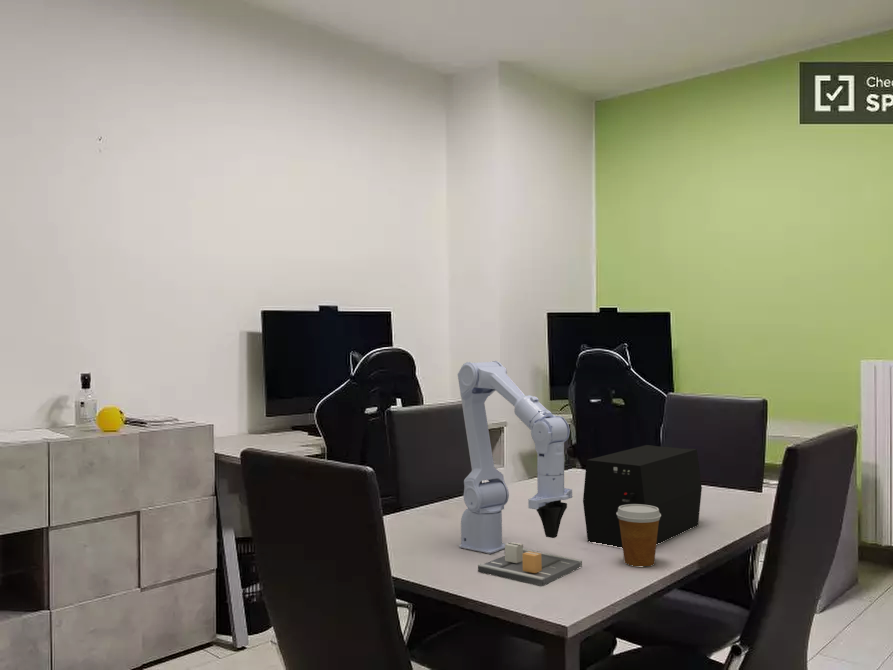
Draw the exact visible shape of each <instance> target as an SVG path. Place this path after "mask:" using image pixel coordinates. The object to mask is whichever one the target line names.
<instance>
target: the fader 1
mask: <svg viewBox="0 0 893 670" xmlns="http://www.w3.org/2000/svg"><path fill="white" fill-rule="evenodd" d="M523 549H524V544H523V543H517V542H513V541H511V542H507V543H505V549H504V556H505V561H508V562H513V563H519V562H521V561H523Z"/></svg>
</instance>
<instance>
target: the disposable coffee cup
mask: <svg viewBox="0 0 893 670" xmlns="http://www.w3.org/2000/svg"><path fill="white" fill-rule="evenodd" d="M616 515H617V516H618V518H619V525H620V532H621V539H622V546H623V549H622V553H623V561H624V564H625V563H627V564H629V565H628V566H630V565H633V566H632V567H634V566H650V567H652V566H651V565H653V564H654V565H655V559H656V549H657V545H656V542H657V533H658V524H659V520H660V517H661V514H660V512H659V509H658V508H657V507H655V506H651V505H643V504H628V505H622V506H619V507H618V512H617V513H616ZM627 564H626V565H627ZM654 565H653V566H654Z"/></svg>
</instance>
